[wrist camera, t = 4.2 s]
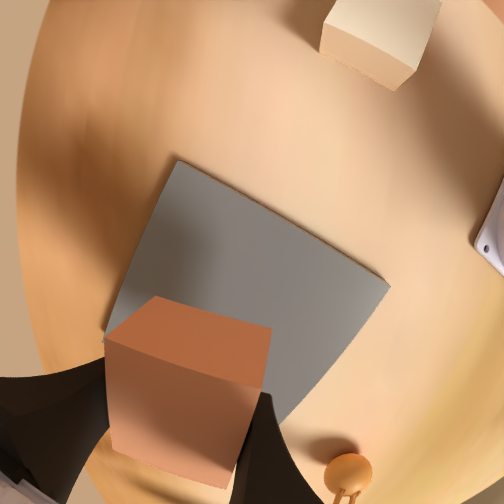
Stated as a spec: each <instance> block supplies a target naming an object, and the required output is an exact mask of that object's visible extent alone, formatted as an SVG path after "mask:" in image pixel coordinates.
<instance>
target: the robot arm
mask: <svg viewBox="0 0 504 504" xmlns="http://www.w3.org/2000/svg"><path fill="white" fill-rule="evenodd" d="M485 245H486V250H485V251H484V247H485ZM474 248H475V250H476V251H477V252H478V253H479V254H481V255H482V256H483V257H484V258H485V259H486V260H487V261H488V262H489V263H490V264H491V265H492V266H493V267H494V268H495V269H496V270H497V271H498V272H499V273H500V274H501V275H502V276H503V277H504V178H503V181H502V183H501V186H500V188H499V190H498V193H497V195H496V197H495V200H494V202H493V204H492V206H491V209H490V211H489V213H488V215H487V217H486V219H485V221H484V223H483V225H482V227H481V229H480V231H479V233H478V235H477V237H476V239H475V242H474ZM109 427H110V424H109V414H108V404H107V392H106V376H105V357H103V358H100V359H98V360H95V361H93V362H90V363H87V364H85V365H82V366H78V367H75V368H72V369H69V370H66V371H62V372H58V373H53V374H48V375H41V376H32V377H17V378H16V377H13V378H12V377H10V378H9V377H0V504H66V502H67V500H68V497H69V495H70V493H71V490H72V488H73V486H74V484H75V482H76V480H77V478H78V476H79V474H80V472H81V470H82V468H83V466H84V465H85V463H86V461H87V459H88V457H89V456H90V454H91V452H92V451H93V449H94V447H95V446H96V444H97V443H98V441H99V440H100V438H101V437H102V436H103V435H104V433H105V432H106V431H107V430H108V428H109ZM229 504H324V503H323V502H322V500H321V499H320V498H319V497H318V496H317V495H316V494H315V492H314V491H313V490H312V488H311V487H310V486H309V484H308V483H307V482H306V480H305V479H304V478H303V476H302V475H301V473H300V471H299V470H298V468H297V467H296V465H295V463H294V461H293V459H292V457H291V455H290V453H289V451H288V449H287V447H286V444H285V442H284V440H283V437H282V434H281V431H280V428H279V425H278V422H277V419H276V415H275V411H274V406H273V400H272V396H271V394H269V393H265V392H260V395H259V398H258V402H257V405H256V408H255V411H254V414H253V416H252V419H251V422H250V425H249V428H248V431H247V434H246V437H245V440H244V443H243V445H242V448H241V451H240V454H239V457H238V459H237V464H236V471H235V478H234V485H233V490H232V495H231V499H230V502H229Z"/></svg>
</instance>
